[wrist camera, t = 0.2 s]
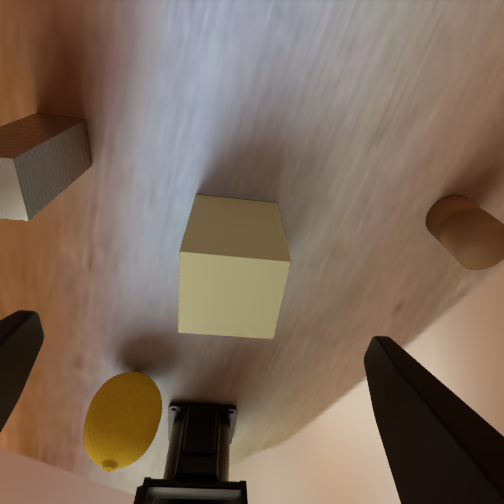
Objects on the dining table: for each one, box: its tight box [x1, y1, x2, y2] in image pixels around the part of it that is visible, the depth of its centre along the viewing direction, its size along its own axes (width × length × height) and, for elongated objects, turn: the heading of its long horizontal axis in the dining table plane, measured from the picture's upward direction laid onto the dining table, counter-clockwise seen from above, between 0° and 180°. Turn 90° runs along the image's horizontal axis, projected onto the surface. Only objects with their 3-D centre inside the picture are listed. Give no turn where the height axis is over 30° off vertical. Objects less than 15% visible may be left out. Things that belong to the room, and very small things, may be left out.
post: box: [0, 113, 92, 221], centre depth 16 cm, size 3×3×7 cm
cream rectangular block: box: [178, 195, 291, 339], centre depth 20 cm, size 5×5×7 cm
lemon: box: [83, 371, 162, 472], centre depth 27 cm, size 6×6×8 cm
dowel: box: [426, 195, 504, 270], centre depth 21 cm, size 3×3×4 cm
